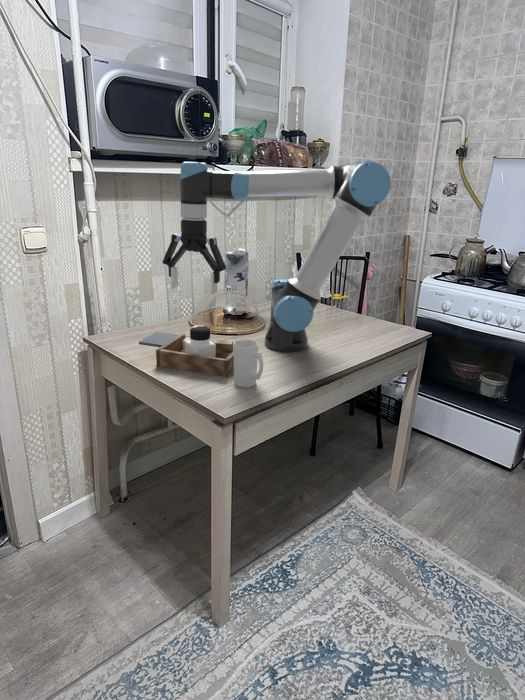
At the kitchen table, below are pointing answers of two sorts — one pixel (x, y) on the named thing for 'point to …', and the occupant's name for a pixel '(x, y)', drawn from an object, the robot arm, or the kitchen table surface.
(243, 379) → the mug
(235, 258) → the juice carton
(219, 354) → the offcut lower
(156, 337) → the mat
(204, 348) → the medicine bottle
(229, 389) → the kitchen table surface
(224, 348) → the offcut upper
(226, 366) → the tray
